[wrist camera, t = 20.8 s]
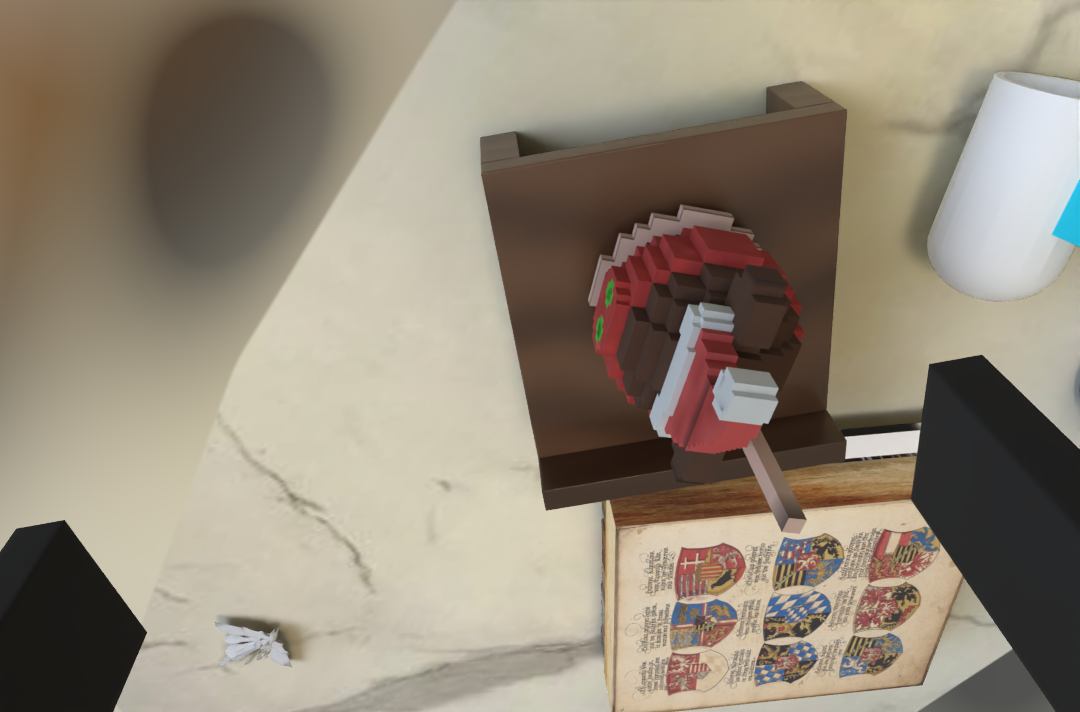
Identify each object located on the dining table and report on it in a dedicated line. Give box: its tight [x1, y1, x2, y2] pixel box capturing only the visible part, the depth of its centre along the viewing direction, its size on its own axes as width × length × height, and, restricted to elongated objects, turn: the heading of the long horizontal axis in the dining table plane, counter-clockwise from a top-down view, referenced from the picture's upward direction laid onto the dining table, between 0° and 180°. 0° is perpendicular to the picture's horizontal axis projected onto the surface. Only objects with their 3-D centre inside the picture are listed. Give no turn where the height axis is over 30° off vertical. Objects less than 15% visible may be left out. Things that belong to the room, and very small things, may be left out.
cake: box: [588, 205, 807, 534], centre depth 33 cm, size 11×9×18 cm
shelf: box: [480, 81, 847, 510], centre depth 43 cm, size 20×18×9 cm
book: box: [601, 423, 964, 712], centre depth 58 cm, size 25×6×28 cm
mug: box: [927, 71, 1080, 301], centre depth 43 cm, size 12×9×12 cm
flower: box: [215, 622, 292, 667], centre depth 62 cm, size 8×8×3 cm
